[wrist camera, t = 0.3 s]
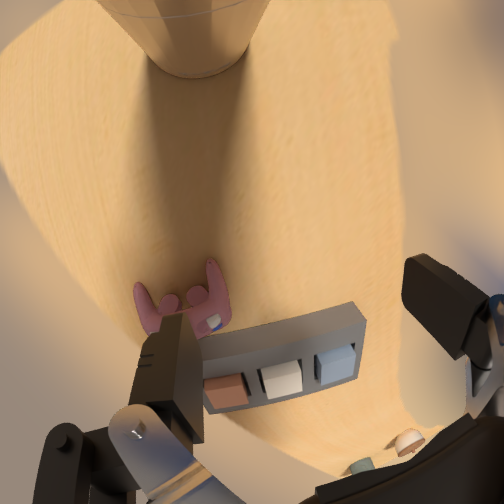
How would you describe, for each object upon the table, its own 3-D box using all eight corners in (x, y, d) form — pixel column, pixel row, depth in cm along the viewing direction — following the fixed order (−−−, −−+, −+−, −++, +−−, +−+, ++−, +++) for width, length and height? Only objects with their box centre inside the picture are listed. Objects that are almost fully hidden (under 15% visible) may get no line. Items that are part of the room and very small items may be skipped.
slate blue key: (315, 350, 31) (321, 365, 29) (348, 340, 32) (356, 354, 29) (315, 371, 33) (321, 385, 31) (346, 362, 34) (352, 375, 31)
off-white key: (259, 365, 31) (263, 380, 29) (295, 356, 31) (301, 371, 29) (264, 384, 33) (268, 399, 31) (297, 376, 33) (302, 391, 31)
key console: (181, 340, 32) (180, 364, 28) (352, 301, 33) (366, 320, 29) (208, 393, 37) (209, 414, 33) (347, 360, 38) (357, 378, 34)
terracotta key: (204, 375, 31) (204, 391, 28) (239, 369, 31) (241, 384, 29) (213, 394, 33) (214, 409, 30) (246, 388, 33) (248, 403, 31)
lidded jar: (416, 421, 63) (427, 441, 55) (417, 427, 68) (427, 445, 59) (388, 438, 65) (398, 459, 56) (392, 443, 69) (401, 461, 61)
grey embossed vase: (368, 461, 75) (377, 483, 64) (345, 470, 74) (353, 493, 64) (373, 453, 70) (384, 477, 60) (349, 463, 70) (358, 488, 59)
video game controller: (149, 299, 30) (153, 355, 26) (129, 280, 27) (130, 342, 22) (227, 275, 30) (241, 332, 26) (215, 252, 27) (229, 315, 22)
